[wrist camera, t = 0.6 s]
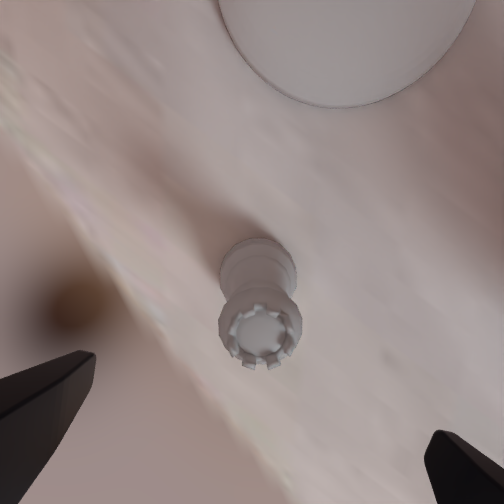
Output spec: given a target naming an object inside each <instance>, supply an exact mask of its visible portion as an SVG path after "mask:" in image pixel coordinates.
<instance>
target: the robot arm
mask: <svg viewBox="0 0 504 504" xmlns="http://www.w3.org/2000/svg"><path fill="white" fill-rule="evenodd" d="M95 364H96V355H95V353H92V352H88V351H83V350H77V351H75V352H72V353H69V354H67V355H64V356H61V357H58V358H56V359H53V360H50V361H48V362H45V363H42V364H39V365H37V366H34V367H31V368H29V369H26V370H23V371H20V372H18V373H15V374H12V375H10V376H8V377H4V378H2V379H0V504H18V503H19V502H20V500H21V499H22V497H23V496H24V494H25V493H26V492H27V490H28V489H29V487H30V486H31V485H32V483H33V482H34V480H35V479H36V478H37V476H38V475H39V473H40V472H41V471H42V469H43V468H44V466H45V465H46V464H47V462H48V461H49V459H50V457H51V456H52V455H53V453H54V452H55V450H56V449H57V447H58V445H59V444H60V442H61V440H62V439H63V437H64V435H65V433H66V432H67V430H68V428H69V426H70V424H71V423H72V421H73V419H74V417H75V416H76V414H77V412H78V410H79V409H80V407H81V405H82V404H83V402H84V400H85V398H86V397H87V395H88V393H89V391H90V389H91V386H92V383H93V378H94V371H95ZM424 463H425V467H426V470H427V473H428V476H429V479H430V482H431V485H432V489H433V492H434V495H435V498H436V501H437V504H504V469H503V468H502V467H500V466H499V465H498V464H496V463H495V462H494V461H492V460H491V459H489V458H488V457H487V456H485V455H484V454H483V453H481V452H480V451H478V450H477V449H476V448H474V447H473V446H472V445H470V444H469V443H467V442H466V441H465V440H463V439H462V438H461V437H459V436H458V435H456V434H455V433H453V432H449V431H444V430H436V431H435V432H434V434H433V436H432V438H431V440H430V443H429V445H428V447H427V449H426V452H425V455H424Z"/></svg>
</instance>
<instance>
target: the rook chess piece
mask: <svg viewBox="0 0 504 504" xmlns="http://www.w3.org/2000/svg"><path fill="white" fill-rule="evenodd" d="M296 277H297V272H296V267H295V264H294V262H293V260H292V257H291V255H290V253H289V252H288V251H286V250H285V249H284V248H283V247H282V246H281V245H280V244H279V243H276V242H274V241H271V240H269V239H266V238H250V239H247V240H245V241H243V242H240V243H238V244H236V245H235V246H234V247H233V248H232V249H231V250H230V251H229V252H228V253H227V254H226V255H225V257H224V260H223V262H222V265H221V268H220V288H221V290H222V292H223V294H224V296H225V298H226V301H227V303H226V304H225V305H224V307H223V309H222V312H221V314H220V317H219V319H218V325H219V336H220V338H221V340H222V342H223V344H224V346H225V348H226V349H227V350H228V351H229V352H230V354H231V356H232V357H234V356H235V357H236V358H237V359H239V360H242V366H244V367H247V368H250V369H252V370H255V366H256V364H267V367H268V370H270V369H272V368H275V367H277V366H280V365H281V364H280V360H281V359H283V358H285V357H286V356H287V355H289V356H291V354H292V352H293V350H294V349H295V348H296V346H297V344H298V341H299V339H300V337H301V335H302V317H301V314H300V312H299V310H298V307H297V305H296V304H295V303H294V302H293V301H292V300H291V298H292V295H293V293H294V291H295V289H296Z"/></svg>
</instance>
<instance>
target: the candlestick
mask: <svg viewBox="0 0 504 504" xmlns="http://www.w3.org/2000/svg"><path fill="white" fill-rule="evenodd" d="M218 2H219V6H220V10H221V13H222V16H223V19H224V22H225V25H226V27H227V30H228V32H229V34H230V36H231V38H232V40H233V42H234V44H235V46H236V47H237V49H238V51H239V52H240V54H241V55H242V57H243V58H244V59H245V61H246V62H247V63H248V64H249V66H250V67H251V68H252V69H253V70H254V71H255V72H256V73H257V74H258V75H259V76H260V77H261V78H262V79H263V80H264V81H265V82H267V83H268V84H269V85H270V86H272V87H273V88H275V89H276V90H278V91H279V92H281V93H282V94H284V95H286V96H288V97H290V98H292V99H295V100H297V101H300V102H303V103H306V104H309V105H313V106H318V107H325V108H351V107H358V106H363V105H367V104H371V103H374V102H377V101H380V100H382V99H385V98H387V97H389V96H391V95H393V94H395V93H397V92H399V91H401V90H402V89H404V88H406V87H407V86H409V85H410V84H412V83H413V82H415V81H416V80H418V79H419V78H420V77H421V76H423V75H424V74H425V73H426V72H427V71H429V70H430V69H431V68H432V67H433V66H434V65H435V64H436V63H437V62H438V61H439V60H440V58H441V57H442V56H443V55H444V54H445V53H446V51H447V50H448V49H449V48H450V46H451V45H452V44H453V42H454V41H455V39H456V38H457V36H458V35H459V33H460V32H461V30H462V28H463V27H464V25H465V23H466V21H467V20H468V18H469V15H470V13H471V11H472V9H473V7H474V4H475V2H476V0H218Z"/></svg>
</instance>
